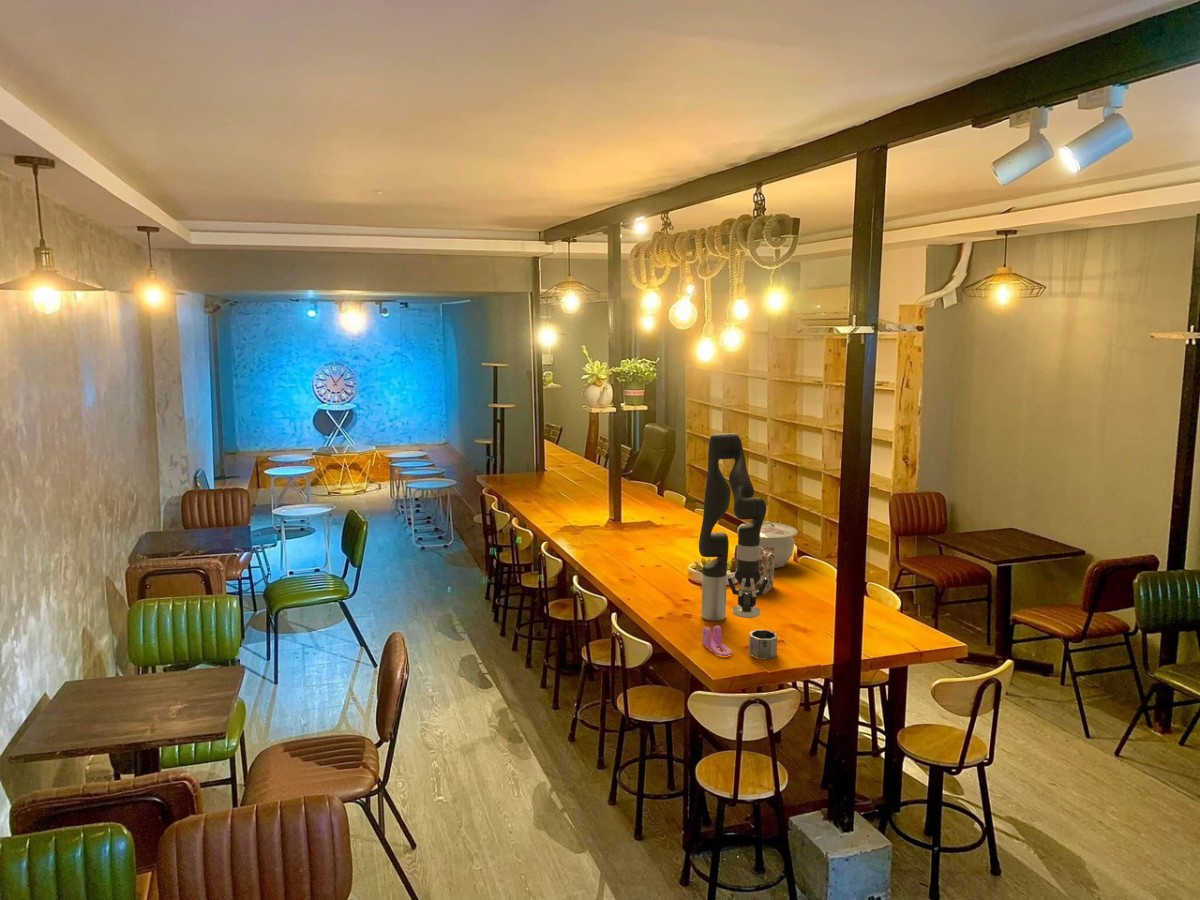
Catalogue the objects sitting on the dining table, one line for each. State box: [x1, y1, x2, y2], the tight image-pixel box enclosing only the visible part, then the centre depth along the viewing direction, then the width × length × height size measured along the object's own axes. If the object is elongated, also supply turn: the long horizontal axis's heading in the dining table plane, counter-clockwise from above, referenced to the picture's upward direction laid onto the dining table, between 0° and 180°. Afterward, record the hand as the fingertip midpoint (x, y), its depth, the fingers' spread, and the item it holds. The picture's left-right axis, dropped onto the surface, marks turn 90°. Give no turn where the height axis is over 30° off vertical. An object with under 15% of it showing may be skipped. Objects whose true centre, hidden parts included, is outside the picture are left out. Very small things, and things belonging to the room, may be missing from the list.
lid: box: [732, 591, 761, 619], centre depth 277 cm, size 9×9×7 cm
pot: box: [748, 629, 778, 660], centre depth 284 cm, size 13×9×7 cm
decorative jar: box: [743, 547, 775, 595], centre depth 351 cm, size 12×12×18 cm
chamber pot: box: [736, 520, 799, 569], centre depth 384 cm, size 28×28×21 cm
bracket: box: [701, 625, 733, 656], centre depth 287 cm, size 13×6×7 cm, turn 21°
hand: (746, 606), depth 278 cm, fingers closed on lid, 3 cm apart
